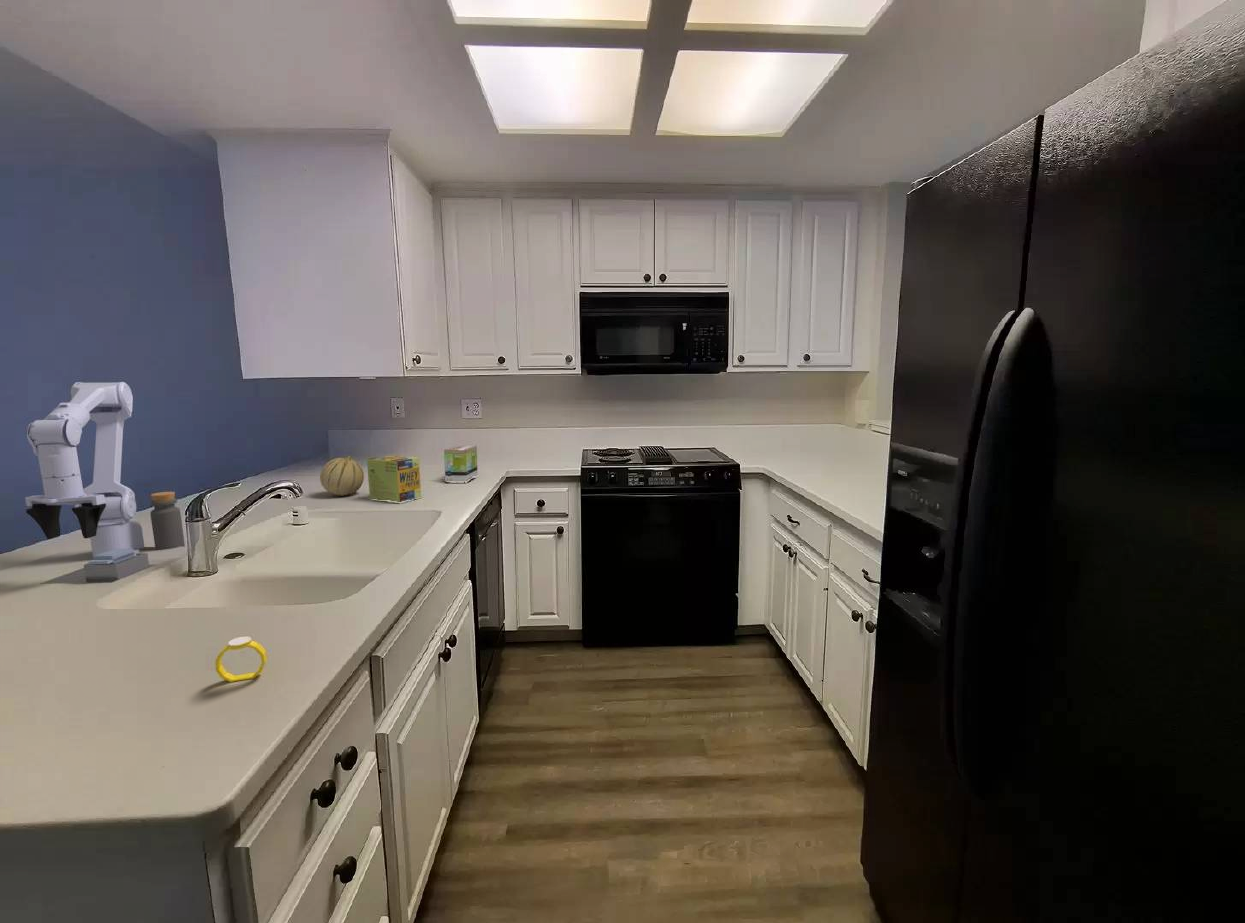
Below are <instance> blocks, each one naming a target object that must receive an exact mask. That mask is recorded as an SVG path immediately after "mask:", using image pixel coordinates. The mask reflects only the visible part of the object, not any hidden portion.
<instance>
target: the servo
mask: <svg viewBox="0 0 1245 923" xmlns="http://www.w3.org/2000/svg"><path fill="white" fill-rule="evenodd" d="M138 553H140V549H138V550H133V549H113V550H110V551H107V552H104V553H101V554H98V555H95V556H94V558H93V559H91V560H89V561H88V563H89V564H109V563H118V562H120V561H123V560H126V559H129V558H131V557H134V556H135V555H136V554H138Z"/></svg>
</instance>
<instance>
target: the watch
mask: <svg viewBox="0 0 1245 923" xmlns="http://www.w3.org/2000/svg"><path fill="white" fill-rule="evenodd" d="M245 648H250V649H253V650H254V651H255V652H256V653H257V654H259V656H260V661H261V664H260V666H259V668H258V669H257V670H256V671H255V672H249V673H244V674H243V673H242V674H238V675H234V674H232V673H230V672H228V671H227V670H226V669H225V667H224V666H223V661H222V660H223V656H224V654H225V653H226V652H228V651H229V650H241V649H245ZM267 656H268V655H267V652H266V649H265V648H264V647H263V646H262V645H261V644H260V643H259V642H257V641H255V640H253V639H252V638H251V637H250V636H239V637H236V638H233V639H231V640H229V641H228V643H227V645H226V646H224V648H222V650H221V651H220V652H219V654H218V656H217V658H216V659H215V671H216V673H217V674H218V676H219V677H220V678H221V679H223V680H224V681H227V682H229V683H233V682H239V681H244V680H252V679H255V678H256V677H257V676H258V675H260V673H262V671H263V670H264V668H265V665H266V663H267V661H268V657H267Z"/></svg>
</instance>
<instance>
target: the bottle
mask: <svg viewBox="0 0 1245 923" xmlns="http://www.w3.org/2000/svg"><path fill="white" fill-rule="evenodd" d="M175 494H176V493H175V491H161V492H156V493H151V494H150V497H151V500H152V501H150V505H151V507H154V509H152V510H151V511H150V520H151V521H150V522H151V527H152V535H153V541H154V542H153V543H154V548H155V550H158V551H163V550H172V549H177V548H180V547H181V548H183V547H186V543H185V537H184V529H183V523H182V522H183V521H182V514H181V508H180V507H177V506H176V505H175V504H177V502H178V500H177V498H176V497H175Z"/></svg>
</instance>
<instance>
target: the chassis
mask: <svg viewBox="0 0 1245 923" xmlns="http://www.w3.org/2000/svg"><path fill="white" fill-rule="evenodd" d="M154 566H155V564H150V561H149V554H148V553H147V552H139V553H137V554H135V555H134V557H131V558H129V559H126V560H123V561H120V562H118V563H109V564H89V562H88V563H85V564H83V567H82V568H79V569H77V570H74V571H71V572H68V573H65V574H63V575H60V576H59V575H58V576H57V577H54V578H51V579H49V580H46V581H43V582H41V583H39V584H41V585H42V584H48V585H49V584H99V583H100V584H106V583H107V584H109V583H111V584H112V583H114V582H117V581H120V580H121V579H124V578H127V577H129V576H132V575H134V574H137V573H139V572H141V571H144V570H147V569H149V568H152V567H154Z"/></svg>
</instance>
